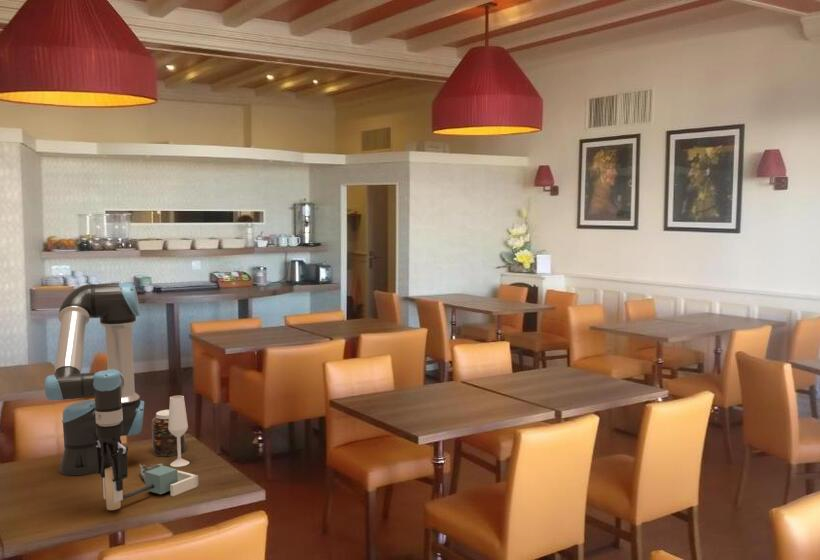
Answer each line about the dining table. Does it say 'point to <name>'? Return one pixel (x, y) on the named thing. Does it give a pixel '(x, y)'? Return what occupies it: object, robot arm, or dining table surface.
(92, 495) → the dining table surface
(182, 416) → the champagne flute
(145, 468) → the egg carton
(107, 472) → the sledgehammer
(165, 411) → the jar
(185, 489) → the white u-shaped bracket
